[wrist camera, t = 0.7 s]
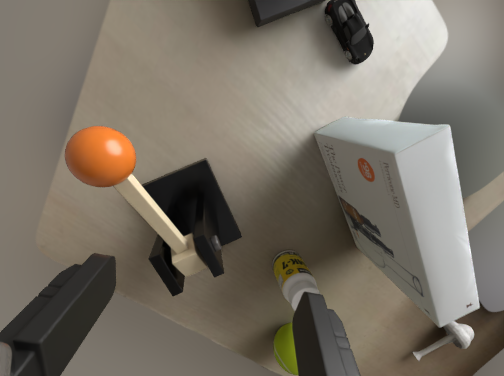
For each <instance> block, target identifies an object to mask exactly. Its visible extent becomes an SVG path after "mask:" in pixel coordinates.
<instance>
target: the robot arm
mask: <svg viewBox="0 0 504 376" xmlns="http://www.w3.org/2000/svg"><path fill="white" fill-rule="evenodd" d="M115 286H116V260H115V257H113V256H108V255H102V254H97V253H94V254H92V255H91V256H90V257H89V258H88V259H87V260H86V261H85V262H84V263H83V264H82V265H78V264H74V265H73V266H71V267H69V268H68V269H66V270H64V271H62V272H61V273H59V275H57V276H56V277H55V278H54V279H53V280H52V281H51V282H50V284H49V285H48V287H45V288H44V289H43V290H42V291H41V292H40V293H39V295H38V297H35V298H34V299H33V300H32V301H31V302H30V303H29V305H27V306H26V307H25V308H24V309H23V310H22V311H21V312H20V313H19V314H18V315H17V316H16V317H15V318H14V319H13V320H12V321H11V322H10V323H9V324H8V325H7V326H6V327H5V328H4V329H3V330H2V331H1V332H0V376H60V375H61V374H62V372H63V371H64V369H65V368H66V366H67V365H68V363H69V361H70V360H71V359H72V357H73V355H74V354H75V352H76V351H77V349H78V348H79V346H80V345H81V343H82V342H83V340H84V339H85V337H86V336H87V334H88V332H89V331H90V330H91V328H92V326H93V325H94V324H95V322H96V321H97V319H98V318H99V316H100V314H101V313H102V311H103V310H104V308H105V307H106V305H107V304H108V302H109V301H110V299H111V297H112V295H113V293H114V290H115ZM292 332H293V339H294V346H295V353H296V360H297V368H298V375H299V376H360V373H359V370H358V367H357V364H356V361H355V358H354V355H353V353H352V350H351V349H350V344H349V341H348V338H346V332H345V329H344V327H343V324H342V321H341V320H340V319H339V317H338V316H337V314H336V313H335V312H334V310H331V309H327V306H326V303H325V300H324V297H323V295H321V294H316V293H311V292H303V294H302V296H301V299H300V301H299V303H298V306H297V308H296V311H295V313H294V316H293V321H292Z"/></svg>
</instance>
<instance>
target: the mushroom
mask: <svg viewBox="0 0 504 376" xmlns="http://www.w3.org/2000/svg"><path fill="white" fill-rule="evenodd" d="M444 328H445V331H446V332H447V334H448V336H446V337H444V338H442V339H441V340H439V341H437V342H436V343H434V344H432V345H431V346H429V347H427V348H425V349H423V350H421V351H419V352H413V354H414V355H415V357H416V358H417V359H418V361H420V359H421V357H422V356H424V355H426V354H427V353H429V352H431V351H433V350H435V349H437V348H438V347H440V346H442V345H443V344H448V343H451V342H453V343H454V344H455V345H456V346H457V347H459V348H461V349H464V348H467V347H468V346H469V345H470V341H471V340H472V339H473V338H474V332H473V330H472V328H471V327H469V326H468V325H466V324H457V323H456V322H454V321H452V322H450V323H449V324H447V325H445V326H444Z"/></svg>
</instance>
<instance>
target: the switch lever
mask: <svg viewBox="0 0 504 376" xmlns="http://www.w3.org/2000/svg"><path fill="white" fill-rule="evenodd" d="M65 160H66V164H67V166H68V168H69V170H70V171H71V173H72V174H73V175H74V176H75V177H76V178H77V179H79V180H80V181H82V182H83V183H85V184H88V185H91V186H95V187H111V186H113V187H114V188H115V189H116V190H117V191H118V192H119V193H120V194H121V195H122V196H123V197H124V198H125V199H126V200H127V201H128V202H129V204H130V205H131V206H132V207H133V208H134V209H135V210H136V211H137V212H138V213H139V214H140V215H141V216H142V217H143V218H144V219H145V220H146V222H147V223H148V224H149V225H150V226H151V227H152V228H153V229H154V230H155V231H156V232H157V233H158V234H159V235H160V236H161V237H162V238H163V240H164V241H165V242H166V243H167V244H168V245H169V246H170V247H171V255H172V264H173V265H174V266H175V267H176V268H177V269H178V270H179V271H180V272H181V273H182V274H183V275H184V276H185V277H188V276H190V275H193V274H195V273H197V272H199V271H202V270H204V269H206V268H207V264H206V262H205V260H204V258H203V256H202V254H201V253H200V251H199V249H198V247H197V245H196V244H195V242H194V240H193V237H194V235H193V234H192V233H191V234H188V235H186V236H184V237H183V235H182V234H181V233H180V232H179V230H178V229H177V228H176V227H175V226H174V224H173V223H172V222H171V221H170V220H169V218H168V217H167V216H166V215H165V214H164V212H163V211H162V210H161V209H160V207H159V206H158V205H157V204H156V203H155V201H154V200H153V199H152V198H151V197H150V195H149V194H148V193H147V192H146V190H145V189H144V188H143V187H142V186H141V184H140V183H139V182H138V181H137V180H136V178H135V177H134V176H133V175H132V172H133V170H134V168H135V164H136V153H135V150H134V147H133V145H132V144H131V142H130V141H129V140H128V138H127V137H126V136H124V135H123V134H122V133H120V132H119V131H117V130H114V129H112V128H108V127H103V126H93V127H88V128H85V129H82V130H80V131H79V132H77V133H76V134H74V135H73V136H72V137H71V139H70V140H69V142H68V143H67V146H66V149H65Z"/></svg>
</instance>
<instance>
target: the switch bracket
mask: <svg viewBox="0 0 504 376" xmlns="http://www.w3.org/2000/svg"><path fill="white" fill-rule="evenodd" d="M141 186H142V187H143V188H144V189H145V190H146V192H147V193H148V194H149V195H150V197H151V198H152V199H153V200H154V201H155V203H156V204H157V205H158V206H159V207H160V209H161V210H162V211H163V212H164V214H165V215H166V216H167V217H168V218H169V220H170V221H171V222H172V223H173V224H174V226H175V227H176V228H177V229H178V230H179V232H180V233H181V234H182V235H183V237H184V236H186V235H188V234H191V233H192V234H193V235H194V237H193V240H194V242H195V244H196V245H197V247H198V249H199V251H200V253H201V254H202V256H203V258H204V260H205V262H206V264H207V265H208V267H209V269H210V271H211V273H212V275H213V276H214V278H215V277H217V276H219V275H222V274H224V268H223V260H222V252H221V246H223V245H225V244H228V243H230V242H232V241H234V240H237V239H239V238H241V237H242V235H241V232H240V230H239V228H238V226H237V224H236V221H235V219H234V217H233V215H232V213H231V211H230V208H229V206H228V204H227V202H226V200H225V198H224V195H223V193H222V191H221V189H220V187H219V185H218V182H217V180H216V178H215V176H214V174H213V171H212V169H211V167H210V165H209V163H208V161H207V158H204V159H202V160H200V161H197V162H195V163H192V164H190V165H188V166H185V167H183V168H180V169H178V170H176V171H173V172H171V173H169V174H166V175H164V176H161V177H159V178H157V179H154V180H152V181H150V182H147V183H145V184H142V185H141ZM149 260H150V262H151V263H152V265H153V267H154V268H155V270H156V271H157V273H158V274H159V276H160V277H161V279H162V281H163V282H164V284H165V285H166V287H167V288H168V290H169V291H170V293H171V294H172V296H175V295H177V294H180V293H182V292H183V287H184V279H185V276H184V275H183V274H182V273H181V272H180V271H179V270H178V269H177V268H176V267H175V266H174V265H173V264H172V255H171V247H170V246H169V245H168V244H167V243H166V242H165V241H164V240H163V238H162V237H161V236H160V235H159V234H158V235H157V238H156V241H155V243H154V246H153V248H152V251H151V253H150V256H149Z"/></svg>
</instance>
